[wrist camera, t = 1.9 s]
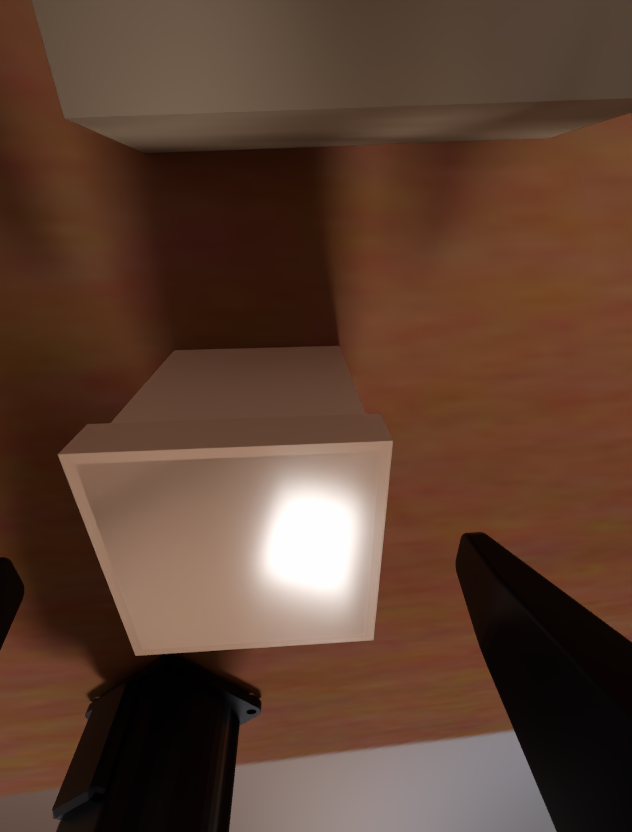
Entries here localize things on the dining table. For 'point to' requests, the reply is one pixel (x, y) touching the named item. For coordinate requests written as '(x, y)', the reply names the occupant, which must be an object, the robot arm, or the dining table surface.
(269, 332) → the dining table surface
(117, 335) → the dining table surface
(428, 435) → the dining table surface
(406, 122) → the beige block
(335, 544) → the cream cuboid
